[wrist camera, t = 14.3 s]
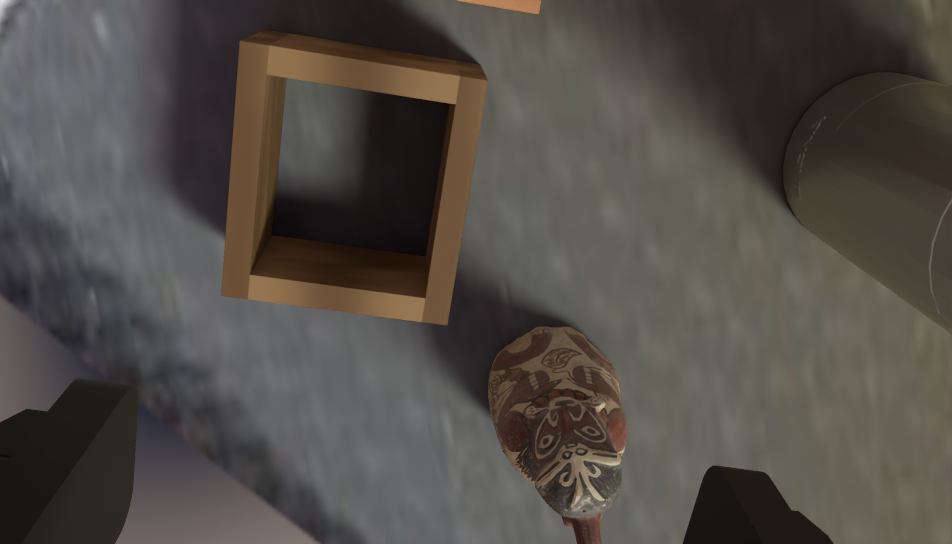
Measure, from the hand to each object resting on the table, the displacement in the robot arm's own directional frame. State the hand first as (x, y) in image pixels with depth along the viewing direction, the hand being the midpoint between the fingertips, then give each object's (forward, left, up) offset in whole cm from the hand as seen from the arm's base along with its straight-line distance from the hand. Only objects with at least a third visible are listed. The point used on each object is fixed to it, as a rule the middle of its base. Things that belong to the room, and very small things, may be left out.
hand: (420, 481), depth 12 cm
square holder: (+3, +3, -33) cm, 33 cm away
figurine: (-9, +14, -33) cm, 37 cm away
